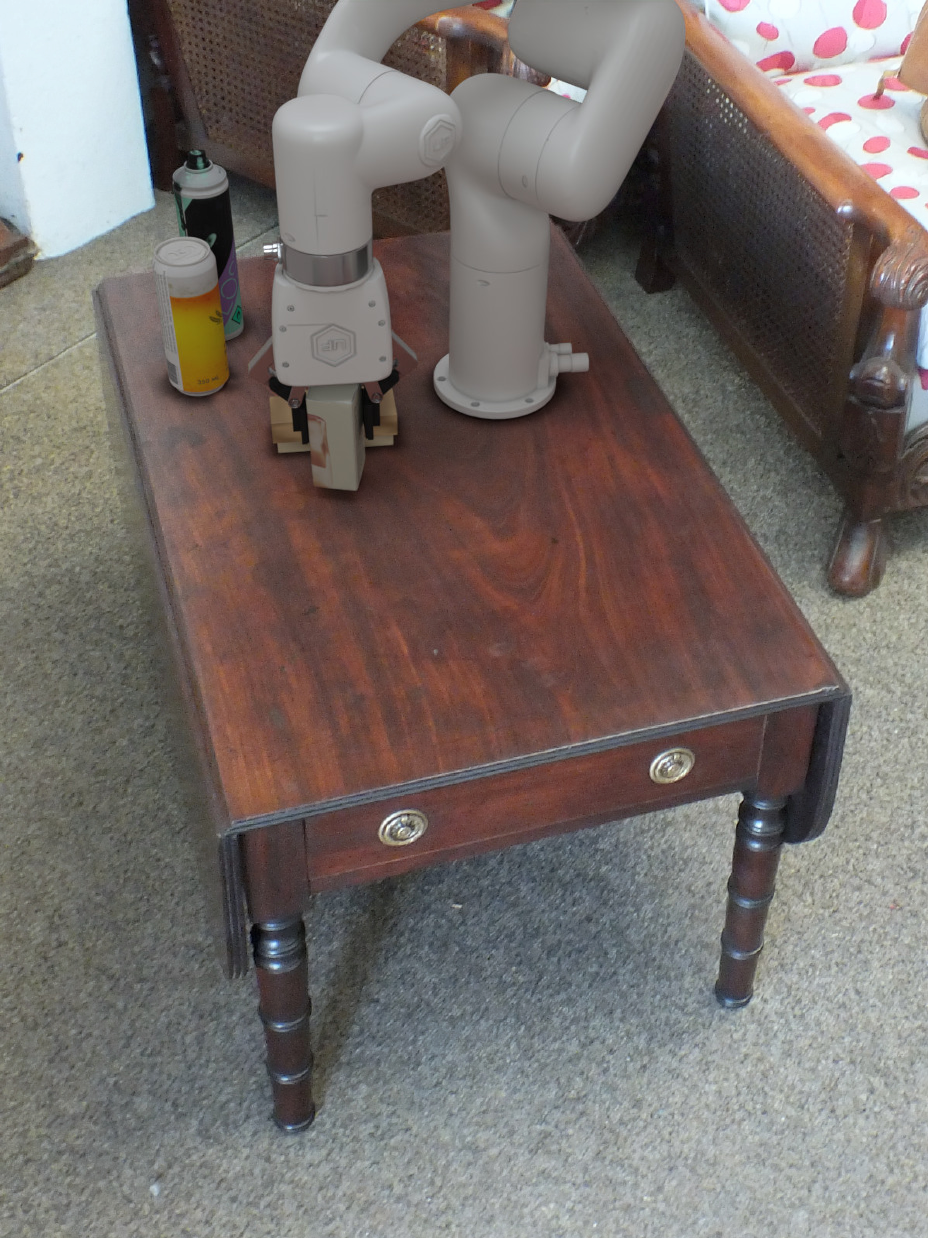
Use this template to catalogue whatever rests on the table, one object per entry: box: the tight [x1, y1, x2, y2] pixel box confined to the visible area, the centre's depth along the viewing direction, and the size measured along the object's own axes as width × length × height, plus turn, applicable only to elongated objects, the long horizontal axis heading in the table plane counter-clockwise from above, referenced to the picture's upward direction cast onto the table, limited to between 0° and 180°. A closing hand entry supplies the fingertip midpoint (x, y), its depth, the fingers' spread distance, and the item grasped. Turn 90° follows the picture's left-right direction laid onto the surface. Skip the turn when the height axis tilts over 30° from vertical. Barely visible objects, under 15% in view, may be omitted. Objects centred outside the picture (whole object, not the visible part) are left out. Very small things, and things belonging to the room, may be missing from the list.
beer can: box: [150, 236, 230, 397], centre depth 137 cm, size 6×6×15 cm
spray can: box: [172, 149, 245, 342], centre depth 142 cm, size 6×6×20 cm
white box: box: [306, 383, 366, 492], centre depth 126 cm, size 5×4×10 cm
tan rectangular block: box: [268, 385, 399, 454], centre depth 134 cm, size 12×4×5 cm, turn 98°
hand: (336, 431), depth 126 cm, fingers closed on white box, 5 cm apart
